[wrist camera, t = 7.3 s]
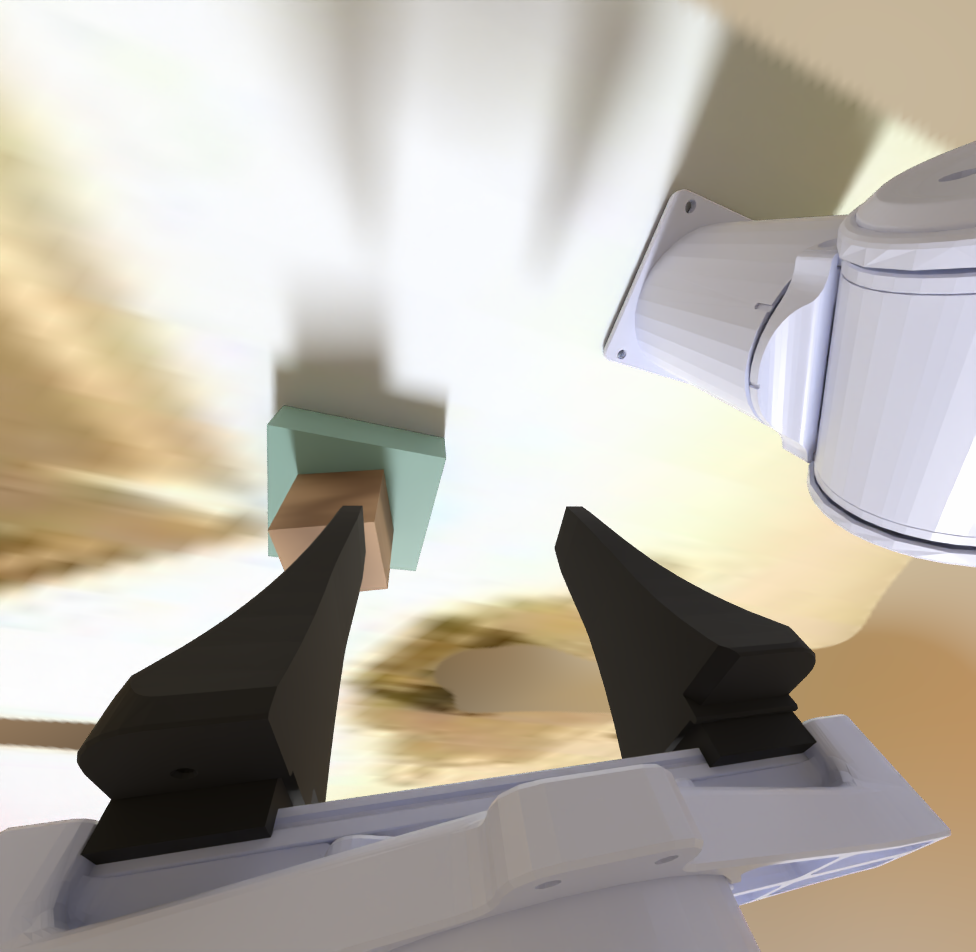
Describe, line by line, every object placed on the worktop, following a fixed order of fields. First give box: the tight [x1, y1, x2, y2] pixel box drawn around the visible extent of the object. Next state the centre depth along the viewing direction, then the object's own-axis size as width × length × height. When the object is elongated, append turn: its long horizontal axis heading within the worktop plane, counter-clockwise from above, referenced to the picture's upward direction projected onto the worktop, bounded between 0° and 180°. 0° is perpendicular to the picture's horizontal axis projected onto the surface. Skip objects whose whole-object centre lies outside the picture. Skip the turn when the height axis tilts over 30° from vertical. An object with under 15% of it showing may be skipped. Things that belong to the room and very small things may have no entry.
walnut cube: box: [268, 469, 394, 591], centre depth 19 cm, size 4×4×4 cm
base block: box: [267, 405, 446, 571], centre depth 23 cm, size 9×9×3 cm
